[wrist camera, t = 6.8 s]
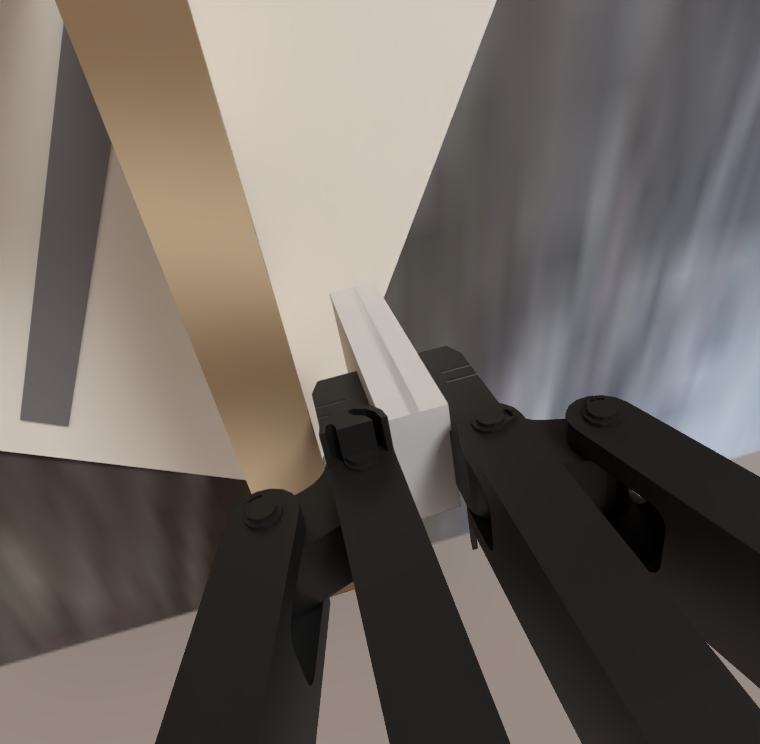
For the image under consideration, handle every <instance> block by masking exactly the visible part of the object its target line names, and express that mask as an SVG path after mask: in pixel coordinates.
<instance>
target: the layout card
mask: <svg viewBox="0 0 760 744" xmlns="http://www.w3.org/2000/svg"><path fill="white" fill-rule="evenodd" d="M188 3H189V6H190V10H191V13H192V16H193V20H194V23H195V27H196V30H197V33H198V37H199V40H200V44H201V47H202V50H203V54H204V57H205V61H206V64H207V67H208V71H209V74H210V78H211V81H212V85H213V88H214V91H215V95H216V98H217V102H218V105H219V108H220V112H221V115H222V119H223V122H224V125H225V129H226V132H227V136H228V139H229V143H230V146H231V149H232V153H233V156H234V160H235V163H236V166H237V170H238V173H239V177H240V180H241V183H242V187H243V190H244V194H245V197H246V200H247V204H248V207H249V211H250V214H251V218H252V221H253V224H254V228H255V231H256V235H257V238H258V241H259V245H260V248H261V252H262V255H263V258H264V262H265V265H266V269H267V272H268V275H269V279H270V282H271V286H272V289H273V293H274V296H275V299H276V303H277V306H278V310H279V313H280V316H281V320H282V323H283V327H284V330H285V333H286V337H287V340H288V344H289V347H290V350H291V354H292V357H293V361H294V364H295V368H296V371H297V374H298V378H299V381H300V385H301V388H302V391H303V395H304V398H305V402H306V405H307V408H308V412H309V415H310V419H311V422H312V425H313V429H314V432H315V436H316V439H317V443H318V446H319V449H320V453H321V456H322V459H323V456H324V452H323V449H322V445H321V442H320V438H319V423H318V419H317V415H316V411H315V406H314V402H313V398H312V393H313V390H314V388H315V386H316V383H317V381H320V380H324V379H328V378H332V377H336V376H339V375H343V374H347V373H348V371H347V367H346V362H345V358H344V354H343V349H342V345H341V341H340V336H339V332H338V328H337V323H336V319H335V315H334V310H333V306H332V302H331V297H330V293H331V292H336V291H340V290H344V289H348V288H352V287H356V286H360V285H364V284H368V283H372V282H374V283H375V285H376V287H377V288H378V290H379V292H380V293H381V295H382V296H383V298H384V295H385V293H386V290H387V288H388V285H389V282H390V280H391V277H392V274H393V272H394V269H395V267H396V264H397V261H398V259H399V256H400V253H401V251H402V248H403V245H404V243H405V240H406V238H407V235H408V232H409V230H410V227H411V224H412V222H413V219H414V216H415V214H416V211H417V209H418V206H419V203H420V201H421V198H422V195H423V193H424V190H425V187H426V185H427V182H428V180H429V177H430V174H431V172H432V169H433V166H434V164H435V161H436V159H437V156H438V153H439V151H440V148H441V145H442V143H443V140H444V137H445V135H446V132H447V130H448V127H449V124H450V122H451V119H452V116H453V114H454V111H455V108H456V106H457V103H458V101H459V98H460V95H461V93H462V90H463V87H464V85H465V82H466V79H467V77H468V74H469V72H470V69H471V66H472V64H473V61H474V58H475V56H476V53H477V51H478V48H479V45H480V43H481V40H482V37H483V35H484V32H485V29H486V27H487V24H488V22H489V19H490V16H491V14H492V11H493V8H494V6H495V3H496V0H188ZM0 451H7V452H15V453H23V454H32V455H40V456H48V457H57V458H65V459H74V460H82V461H90V462H99V463H107V464H115V465H124V466H132V467H141V468H149V469H157V470H166V471H174V472H182V473H191V474H199V475H207V476H216V477H224V478H233V479H241V480H246V479H245V476H244V474H243V471H242V469H241V466H240V464H239V461H238V459H237V456H236V454H235V451H234V449H233V446H232V444H231V441H230V439H229V436H228V434H227V431H226V429H225V426H224V424H223V421H222V418H221V416H220V413H219V411H218V408H217V406H216V403H215V401H214V398H213V396H212V393H211V391H210V388H209V386H208V383H207V381H206V378H205V376H204V373H203V371H202V368H201V366H200V363H199V361H198V358H197V356H196V353H195V351H194V348H193V346H192V343H191V341H190V338H189V336H188V333H187V331H186V328H185V326H184V323H183V321H182V318H181V316H180V313H179V311H178V308H177V306H176V303H175V301H174V298H173V296H172V293H171V291H170V288H169V285H168V283H167V280H166V278H165V275H164V273H163V270H162V268H161V265H160V263H159V260H158V258H157V255H156V253H155V250H154V248H153V245H152V243H151V240H150V238H149V235H148V233H147V230H146V228H145V225H144V223H143V220H142V218H141V215H140V213H139V210H138V208H137V205H136V203H135V200H134V198H133V195H132V193H131V190H130V188H129V185H128V183H127V180H126V178H125V175H124V173H123V170H122V168H121V165H120V163H119V160H118V158H117V155H116V152H115V150H114V147H113V145H112V142H111V140H110V137H109V135H108V132H107V130H106V127H105V125H104V122H103V120H102V117H101V115H100V112H99V110H98V107H97V105H96V102H95V100H94V97H93V95H92V92H91V90H90V87H89V85H88V82H87V80H86V77H85V75H84V72H83V70H82V67H81V65H80V62H79V60H78V57H77V55H76V52H75V50H74V47H73V45H72V42H71V40H70V37H69V35H68V32H67V30H66V27H65V25H64V22H63V19H62V17H61V14H60V12H59V9H58V7H57V4H56V2H55V0H0Z"/></svg>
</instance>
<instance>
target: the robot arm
mask: <svg viewBox="0 0 760 744" xmlns="http://www.w3.org/2000/svg"><path fill="white" fill-rule="evenodd" d="M330 297H331V302H332V306H333V310H334V315H335V319H336V323H337V328H338V332H339V336H340V341H341V345H342V349H343V354H344V358H345V362H346V367H347V371H348V373H347V374H343V375H339V376H336V377H332V378H328V379H324V380H320V381H317V383H316V386H315V388H314V390H313V393H312V398H313V402H314V406H315V411H316V415H317V419H318V423H319V438H320V442H321V445H322V449H323V452H324V456H325V459H326V463H327V464H326V467H325V470H324V472H323V473H322V475H321V476H320V478H319V479H318V480H317V481H316V482H315V483H313V484H312V485H311V486H309V487H308V488H306V489H305V490H303V491H301V492H299V493H298V494H296V495H293V493H291V492H288V491H286V490H284V489H266V490H262V491H258V492H255V493H253V494H251V495H250V496H248V497H246V498H244V499H243V500H242V501H241V502H240V503H238V504H237V505H236V506H235V507H234V508H233V510H232V512H231V514H230V515H229V517H228V519H227V522H226V526H225V529H224V532H223V535H222V538H221V541H220V544H219V547H218V550H217V553H216V556H215V560H214V563H213V566H212V569H211V572H210V575H209V578H208V581H207V584H206V587H205V590H204V594H203V597H202V600H201V603H200V606H199V609H198V612H197V616H196V618H195V621H194V624H193V628H192V631H191V634H190V637H189V640H188V643H187V646H186V649H185V652H184V655H183V658H182V662H181V665H180V668H179V671H178V674H177V677H176V680H175V683H174V687H173V689H172V692H171V696H170V699H169V702H168V705H167V708H166V711H165V714H164V717H163V720H162V724H161V727H160V730H159V733H158V736H157V739H156V742H155V744H316V735H317V726H318V716H319V706H320V697H321V687H322V678H323V668H324V658H325V649H326V639H327V629H328V620H329V610H330V596H332V595H333V594H335V593H336V592H338V591H339V590H341V589H343V588H344V587H346V586H347V585H349V584H350V583H352V582H354V587H355V591H356V596H357V600H358V604H359V609H360V613H361V618H362V622H363V627H364V631H365V636H366V640H367V645H368V649H369V653H370V658H371V663H372V667H373V671H374V676H375V680H376V684H377V689H378V694H379V698H380V703H381V707H382V712H383V716H384V721H385V725H386V730H387V734H388V739H389V743H390V744H510V742H509V739H508V736H507V734H506V731H505V729H504V726H503V724H502V721H501V719H500V716H499V714H498V711H497V709H496V706H495V704H494V701H493V698H492V696H491V694H490V691H489V689H488V686H487V683H486V681H485V678H484V676H483V673H482V671H481V668H480V666H479V663H478V661H477V658H476V656H475V653H474V650H473V648H472V646H471V643H470V640H469V638H468V635H467V633H466V630H465V628H464V625H463V623H462V620H461V618H460V615H459V613H458V610H457V608H456V605H455V603H454V600H453V597H452V595H451V593H450V590H449V587H448V585H447V582H446V580H445V577H444V575H443V572H442V570H441V567H440V565H439V562H438V560H437V557H436V555H435V552H434V550H433V547H432V545H431V542H430V539H429V537H428V534H427V532H426V529H425V527H424V524H423V522H422V519H421V518H424V517H428V516H431V515H435V514H438V513H441V512H444V511H448V510H451V509H455V508H458V507H461V503H460V495H459V491H460V492H461V494H462V496H463V498H464V500H465V502H466V504H467V513H468V521H469V530H470V538H471V544H472V549H473V550H474V549H477V548H478V546H477V540H478V542H479V544H480V546H481V547H482V549H483V551H484V553H485V555H486V557H487V559H488V561H489V563H490V565H491V567H492V569H493V571H494V573H495V575H496V577H497V579H498V581H499V583H500V584H501V587H502V589H503V590H504V592H505V594H506V596H507V598H508V600H509V602H510V604H511V606H512V608H513V610H514V612H515V614H516V616H517V618H518V620H519V622H520V623H521V626H522V627H523V629H524V631H525V633H526V635H527V637H528V639H529V641H530V643H531V645H532V647H533V649H534V651H535V653H536V655H537V657H538V658H539V661H540V663H541V665H542V667H543V669H544V670H545V673H546V674H547V676H548V678H549V680H550V682H551V684H552V686H553V688H554V690H555V692H556V694H557V696H558V698H559V700H560V702H561V704H562V706H563V708H564V710H565V712H566V713H567V715H568V717H569V719H570V721H571V723H572V725H573V727H574V729H575V731H576V733H577V735H578V737H579V739H580V741H581V743H582V744H760V708H759V707H758V706H757V705H756V703H754V701H753V700H752V699H751V697H750V696H749V695H748V694H747V692H746V691H745V690H744V689H743V687H742V686H741V685H740V684H739V682H738V681H737V680H736V679H735V678H734V676H733V675H732V674H731V672H730V671H729V670H728V669H727V668H726V666H725V665H724V664H723V663H722V661H721V660H720V659H719V658H718V656H717V655H716V654H715V653H714V651H713V650H712V649H711V648H710V647H709V645H710V646H712V647H713V648H714V649H715V650H716V651H717V652H718V653H720V654H721V655H722V656H723V657H724V658H725V659H726V660H728V661H729V662H730V663H731V664H732V665H734V666H735V667H736V668H737V669H738V670H739V671H740V672H741V673H743V674H744V675H745V676H746V677H747V678H748V679H750V680H751V681H752V682H753V683H754V684H755V685H756V686H758V687H759V688H760V477H759V476H757V475H755V474H754V473H752V472H750V471H748V470H747V469H745V468H743V467H741V466H739V465H738V464H736V463H734V462H732V461H731V460H729V459H727V458H725V457H724V456H722V455H720V454H718V453H717V452H715V451H713V450H711V449H710V448H708V447H706V446H704V445H702V444H701V443H699V442H697V441H695V440H694V439H692V438H690V437H688V436H687V435H685V434H683V433H681V432H679V431H678V430H676V429H674V428H672V427H671V426H669V425H667V424H665V423H664V422H662V421H660V420H658V419H656V418H655V417H653V416H651V415H649V414H648V413H646V412H644V411H642V410H641V409H639V408H637V407H635V406H634V405H632V404H630V403H628V402H626V401H623V400H621V399H618V398H616V397H610V396H603V395H599V396H588V397H584V398H581V399H578V400H576V401H575V402H573V403H572V404H571V405H569V407H568V409H567V411H566V419H554V420H530V419H526V418H525V417H524V416H523V415H522V413H520V412H519V411H518V410H516V409H515V408H514V407H511V406H508V405H505V404H501V403H498V401H497V400H496V399H495V397H494V396H493V395H492V393H491V392H490V391H489V389H488V388H487V387H486V385H485V384H484V383H483V381H482V380H481V379H480V377H479V376H478V375H476V372H475V371H474V369H473V368H472V367H471V366H470V365H469V363H468V361H467V360H466V359H465V357H464V356H463V355H462V353H460V352H458V351H456V350H454V349H452V348H450V347H448V346H443V347H439V348H436V349H432V350H428V351H424V352H421V353H417V352H416V351H415V349H414V347H413V346H412V344H411V342H410V341H409V339H408V337H407V336H406V334H405V332H404V331H403V329H402V328H401V326H400V324H399V323H398V321H397V319H396V318H395V316H394V314H393V313H392V311H391V310H390V308H389V306H388V305H387V303H386V301H385V300H384V298H383V296H382V295H381V293H380V292H379V290H378V288H377V287H376V285H375V283H374V282H372V283H368V284H364V285H360V286H356V287H352V288H348V289H344V290H340V291H336V292H331V293H330ZM633 491H634V492H635V493H634V492H633ZM636 493H637V494H638V495H637V494H636ZM639 495H640V496H641V497H640V496H639ZM705 641H706V642H707V643H708V644H709V645H708V644H707V643H706V642H705Z"/></svg>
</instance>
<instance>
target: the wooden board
mask: <svg viewBox="0 0 760 744" xmlns="http://www.w3.org/2000/svg"><path fill="white" fill-rule="evenodd" d="M55 2H56V4H57V7H58V9H59V12H60V14H61V17H62V19H63V22H64V25H65V27H66V30H67V32H68V35H69V37H70V40H71V42H72V45H73V47H74V50H75V52H76V55H77V57H78V60H79V62H80V65H81V67H82V70H83V72H84V75H85V77H86V80H87V82H88V85H89V87H90V90H91V92H92V95H93V97H94V100H95V102H96V105H97V107H98V110H99V112H100V115H101V117H102V120H103V122H104V125H105V127H106V130H107V132H108V135H109V137H110V140H111V142H112V145H113V147H114V150H115V152H116V155H117V158H118V160H119V163H120V165H121V168H122V170H123V173H124V175H125V178H126V180H127V183H128V185H129V188H130V190H131V193H132V195H133V198H134V200H135V203H136V205H137V208H138V210H139V213H140V215H141V218H142V220H143V223H144V225H145V228H146V230H147V233H148V235H149V238H150V240H151V243H152V245H153V248H154V250H155V253H156V255H157V258H158V260H159V263H160V265H161V268H162V270H163V273H164V275H165V278H166V280H167V283H168V285H169V288H170V291H171V293H172V296H173V298H174V301H175V303H176V306H177V308H178V311H179V313H180V316H181V318H182V321H183V323H184V326H185V328H186V331H187V333H188V336H189V338H190V341H191V343H192V346H193V348H194V351H195V353H196V356H197V358H198V361H199V363H200V366H201V368H202V371H203V373H204V376H205V378H206V381H207V383H208V386H209V388H210V391H211V393H212V396H213V398H214V401H215V403H216V406H217V408H218V411H219V413H220V416H221V418H222V421H223V424H224V426H225V429H226V431H227V434H228V436H229V439H230V441H231V444H232V446H233V449H234V451H235V454H236V456H237V459H238V461H239V464H240V466H241V469H242V471H243V474H244V476H245V479H246V481H247V484H248V486H249V489H250V491H251V494H253V493H255V492H258V491H262V490H266V489H284V490H286V491H288V492H291V493H293V495H296V494H298V493H299V492H301V491H303V490H305V489H306V488H308V487H309V486H311V485H312V484H313V483H315V482H316V481H317V480H318V479H319V478H320V476H321V475H322V473H323V472H324V470H325V466H324V463H323V460H322V456H321V453H320V449H319V446H318V443H317V439H316V436H315V432H314V429H313V425H312V422H311V419H310V415H309V412H308V408H307V405H306V402H305V398H304V395H303V391H302V388H301V385H300V381H299V378H298V374H297V371H296V368H295V364H294V361H293V357H292V354H291V350H290V347H289V344H288V340H287V337H286V333H285V330H284V327H283V323H282V320H281V316H280V313H279V310H278V306H277V303H276V299H275V296H274V293H273V289H272V286H271V282H270V279H269V275H268V272H267V269H266V265H265V262H264V258H263V255H262V252H261V248H260V245H259V241H258V238H257V235H256V231H255V228H254V224H253V221H252V218H251V214H250V211H249V207H248V204H247V200H246V197H245V194H244V190H243V187H242V183H241V180H240V177H239V173H238V170H237V166H236V163H235V160H234V156H233V153H232V149H231V146H230V143H229V139H228V136H227V132H226V129H225V125H224V122H223V119H222V115H221V112H220V108H219V105H218V102H217V98H216V95H215V91H214V88H213V85H212V81H211V78H210V74H209V71H208V67H207V64H206V61H205V57H204V54H203V50H202V47H201V44H200V40H199V37H198V33H197V30H196V27H195V23H194V20H193V16H192V13H191V10H190V6H189V3H188V0H55ZM354 589H355V587H354V582H352V583H350V584H349V585H347V586H346V587H344V588H343V589H341V590H339V591H338V592H336V593H335V594H333V595H332V596H335V595H338V594H341V593H344V592H348V591H351V590H354ZM332 596H330V597H332Z"/></svg>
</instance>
